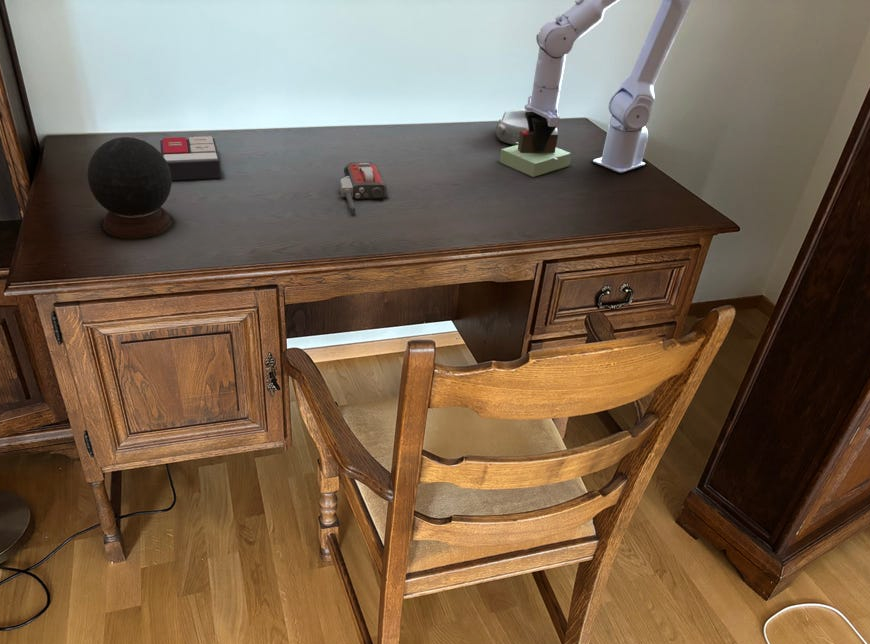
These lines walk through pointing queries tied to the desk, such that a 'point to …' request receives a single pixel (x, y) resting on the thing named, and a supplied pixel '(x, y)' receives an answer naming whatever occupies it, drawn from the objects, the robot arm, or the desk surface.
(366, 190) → the walkie-talkie
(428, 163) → the desk surface
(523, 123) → the dish
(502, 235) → the desk surface
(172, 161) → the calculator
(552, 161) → the stand
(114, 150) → the ball on wooden base
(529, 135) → the brown block
